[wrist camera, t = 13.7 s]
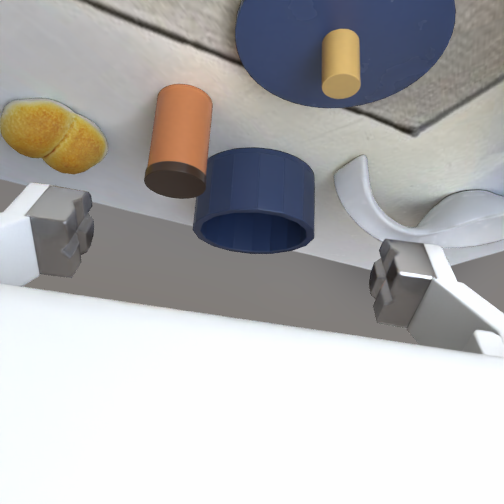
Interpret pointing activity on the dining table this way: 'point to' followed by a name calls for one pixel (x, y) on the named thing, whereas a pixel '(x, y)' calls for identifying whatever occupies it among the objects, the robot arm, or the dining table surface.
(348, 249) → the dining table surface
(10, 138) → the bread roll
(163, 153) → the cylinder
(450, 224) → the spoon rest
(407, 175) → the dining table surface
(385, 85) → the tin lid
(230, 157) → the tin
